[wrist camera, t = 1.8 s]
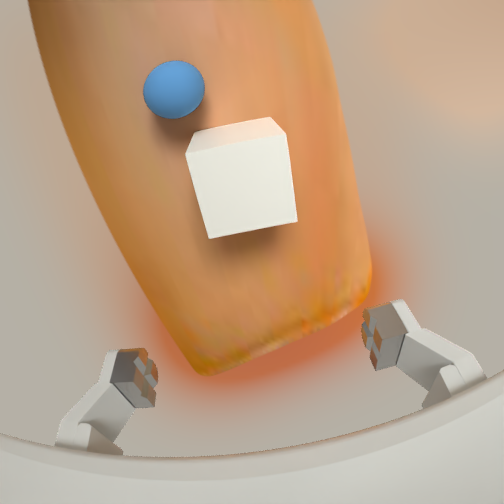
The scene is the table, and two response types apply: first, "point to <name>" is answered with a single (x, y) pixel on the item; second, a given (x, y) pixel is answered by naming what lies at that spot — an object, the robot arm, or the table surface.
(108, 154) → the table surface
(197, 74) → the ball
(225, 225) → the matte ivory cube
